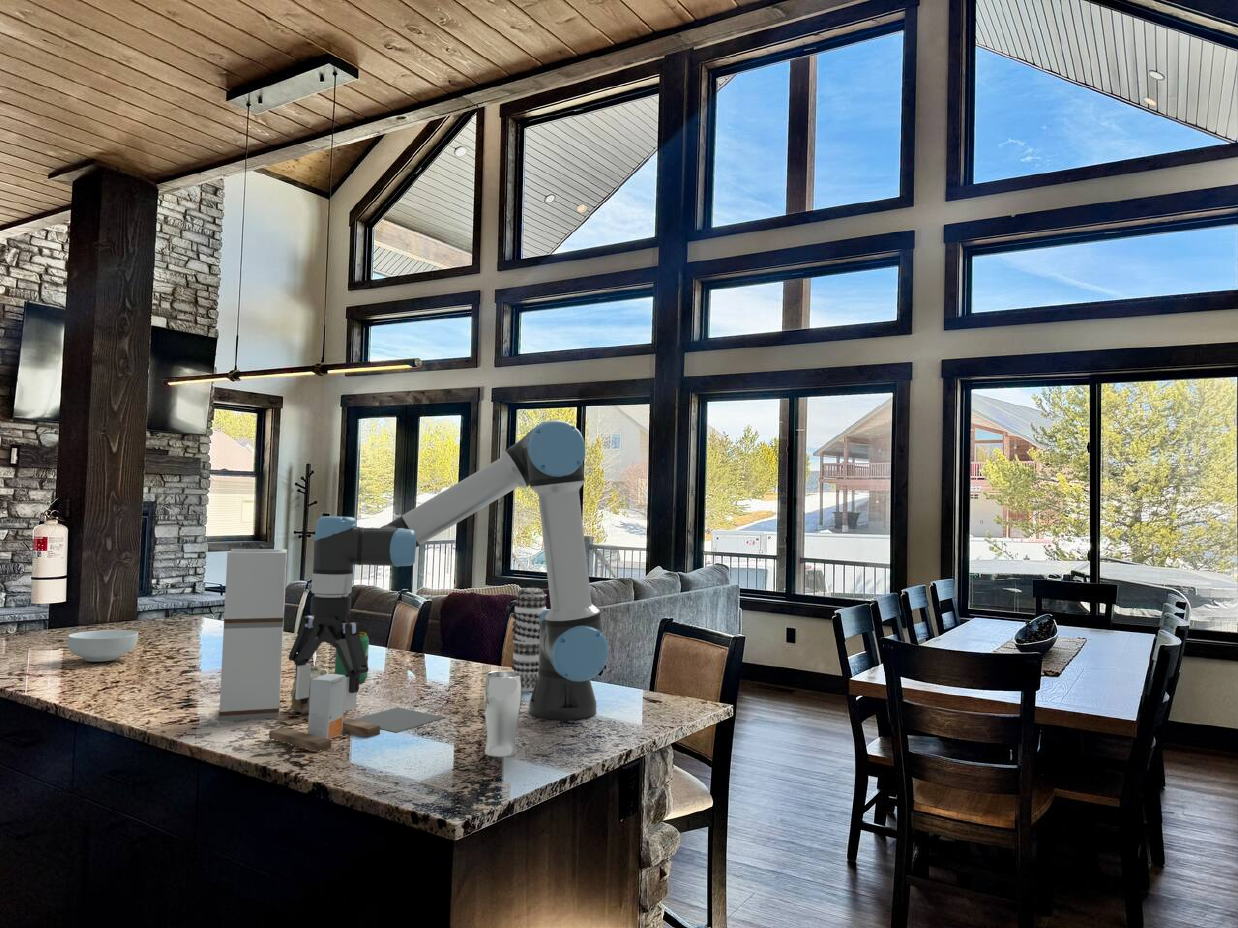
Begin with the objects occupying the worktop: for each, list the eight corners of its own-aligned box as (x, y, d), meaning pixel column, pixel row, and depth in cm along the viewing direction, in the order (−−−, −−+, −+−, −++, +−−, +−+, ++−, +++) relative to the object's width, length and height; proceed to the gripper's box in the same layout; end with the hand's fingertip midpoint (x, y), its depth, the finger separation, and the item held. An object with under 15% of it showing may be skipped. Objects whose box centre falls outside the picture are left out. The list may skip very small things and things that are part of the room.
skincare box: (326, 743, 157) (329, 680, 158) (306, 741, 158) (309, 679, 159) (343, 735, 163) (346, 674, 164) (324, 733, 164) (326, 672, 165)
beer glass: (520, 749, 157) (523, 670, 158) (517, 761, 150) (520, 678, 151) (484, 748, 157) (487, 669, 158) (479, 760, 150) (482, 677, 151)
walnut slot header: (379, 735, 163) (380, 725, 164) (317, 754, 151) (318, 743, 151) (332, 724, 171) (332, 714, 171) (268, 741, 158) (269, 730, 158)
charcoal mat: (444, 719, 177) (444, 717, 177) (396, 734, 165) (396, 731, 165) (397, 709, 184) (397, 707, 184) (348, 723, 172) (348, 720, 172)
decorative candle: (503, 689, 205) (507, 589, 206) (517, 682, 214) (520, 586, 215) (538, 693, 203) (542, 591, 204) (550, 685, 212) (553, 588, 213)
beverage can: (368, 683, 208) (370, 635, 209) (335, 685, 205) (337, 636, 206) (365, 676, 215) (367, 630, 216) (333, 678, 213) (335, 631, 213)
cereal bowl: (149, 658, 231) (150, 633, 231) (85, 667, 217) (86, 640, 217) (117, 651, 240) (118, 626, 240) (54, 659, 226) (55, 633, 226)
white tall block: (279, 705, 184) (287, 549, 186) (278, 717, 174) (286, 552, 176) (223, 709, 180) (231, 549, 181) (218, 721, 170) (227, 552, 172)
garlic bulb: (290, 708, 182) (292, 662, 183) (330, 706, 185) (332, 661, 186) (289, 719, 173) (291, 671, 174) (331, 716, 176) (333, 669, 177)
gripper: (391, 599, 159) (384, 710, 158) (305, 587, 171) (299, 690, 170) (360, 602, 152) (354, 718, 151) (274, 590, 165) (267, 696, 164)
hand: (325, 703), depth 161 cm, fingers open, 13 cm apart
